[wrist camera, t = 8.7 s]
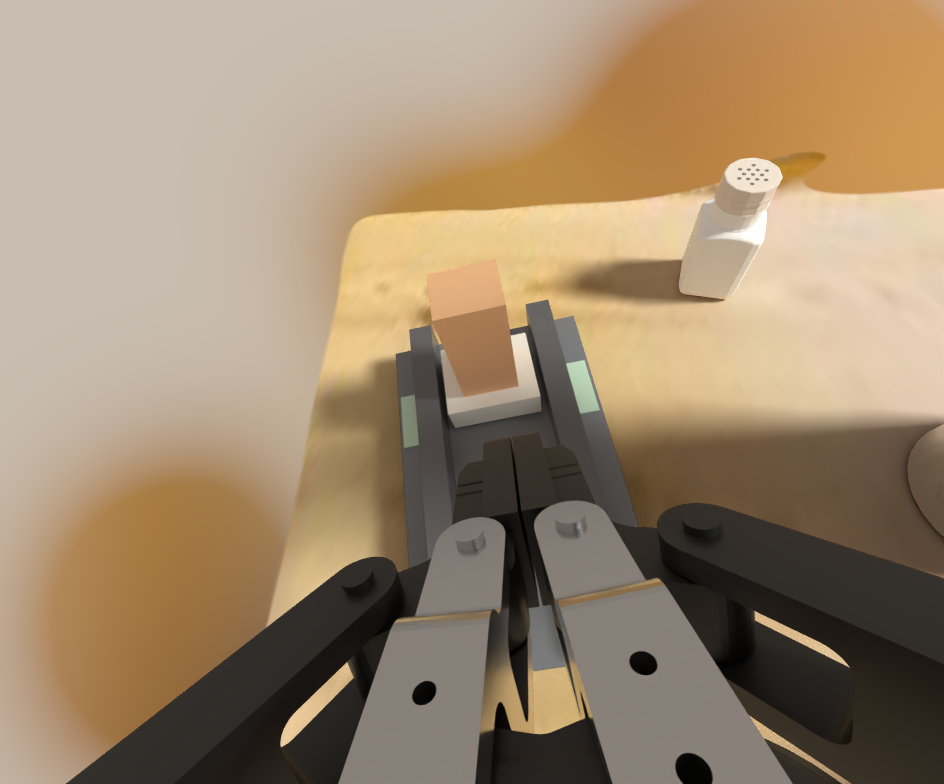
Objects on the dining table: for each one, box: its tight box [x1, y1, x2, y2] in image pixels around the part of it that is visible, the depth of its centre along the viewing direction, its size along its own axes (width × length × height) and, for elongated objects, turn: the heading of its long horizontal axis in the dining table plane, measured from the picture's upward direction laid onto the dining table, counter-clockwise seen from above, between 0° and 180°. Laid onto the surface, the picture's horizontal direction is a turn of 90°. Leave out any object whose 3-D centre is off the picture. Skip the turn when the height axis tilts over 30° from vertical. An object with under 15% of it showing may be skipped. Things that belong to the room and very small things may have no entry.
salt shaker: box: [678, 158, 782, 299], centre depth 31 cm, size 4×4×10 cm
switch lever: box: [427, 259, 541, 428], centre depth 26 cm, size 5×6×11 cm
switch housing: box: [396, 300, 639, 671], centre depth 28 cm, size 22×14×5 cm, turn 8°
